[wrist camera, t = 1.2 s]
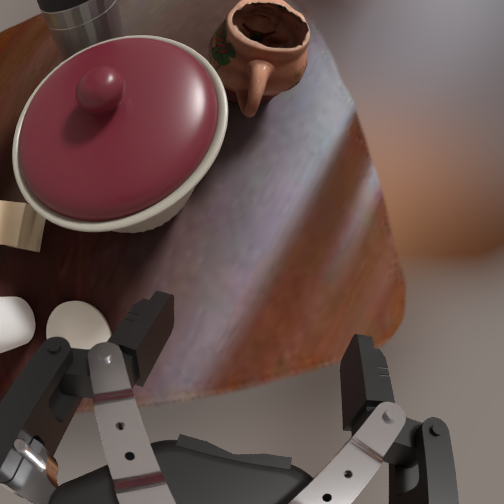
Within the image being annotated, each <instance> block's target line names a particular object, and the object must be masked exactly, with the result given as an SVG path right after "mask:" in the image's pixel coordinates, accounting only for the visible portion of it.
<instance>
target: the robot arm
mask: <svg viewBox="0 0 504 504" xmlns="http://www.w3.org/2000/svg"><path fill="white" fill-rule="evenodd" d="M37 2H38V4H39V7H40V9H41V12H42V14H43V17H44V19H45V21H46V24H47V26H48V28H49V31H50V33H51V35H52V38H53V40H54V42H55V44H56V47H57V49H58V51H59V53H60V55H61V58H62V60H63V62H64V61H65V60H67V59H68V58H69V57H71V56H73V55H74V54H76V53H78V52H79V51H81V50H83V49H85V48H87V47H90V46H92V45H94V44H97V43H100V42H103V41H106V40H110V39H114V38H119V37H124V32H123V26H122V20H121V14H120V8H119V2H118V0H37ZM173 325H174V296H173V295H172V294H168V293H164V292H161V291H156V292H155V293H154V294H153V296H152V297H151V299H150V300H147V299H142V300H141V301H139V302H137V303H136V304H134V305H133V307H132V308H131V309H130V311H129V313H127V315H126V316H125V317H124V320H122V322H121V323H120V324H119V326H118V327H117V328H116V330H115V331H114V332H113V334H112V335H111V337H110V338H109V339H108V341H107V342H102V343H98V344H96V345H94V346H93V347H92V348H91V349H79V348H71V346H70V343H69V342H68V341H67V340H66V339H65V338H63V337H51V338H49V339H47V340H45V341H44V342H43V343H42V345H41V346H40V347H39V349H38V350H37V351H36V352H35V354H34V355H33V357H32V358H31V359H30V361H29V362H28V363H27V365H26V366H25V367H24V369H23V370H22V372H21V373H20V374H19V376H18V377H17V379H16V380H15V382H14V383H13V385H12V386H11V388H10V389H9V390H8V392H7V393H6V395H5V396H4V398H3V400H2V401H1V403H0V485H1V486H3V487H4V488H6V489H7V490H9V491H11V492H13V493H15V494H17V495H18V496H20V497H22V498H25V499H27V500H28V501H30V502H31V503H33V504H351V503H352V502H353V501H354V499H355V498H356V497H357V496H358V494H359V493H360V492H361V490H362V489H363V488H364V487H365V486H366V484H367V483H368V482H369V481H370V479H371V478H372V477H373V475H374V474H375V473H376V471H377V470H378V468H379V467H380V466H381V464H382V462H383V461H384V462H387V463H389V504H459V503H458V491H457V481H456V473H455V466H454V458H453V452H452V446H451V440H450V435H449V430H448V427H447V425H446V424H445V423H444V422H443V421H442V420H441V419H439V418H435V417H431V418H428V419H426V420H425V421H424V422H423V423H421V422H418V421H415V420H412V419H409V418H407V417H406V416H405V413H404V411H403V410H402V408H401V407H399V406H398V405H397V404H395V401H394V396H393V391H392V386H391V381H390V377H389V371H388V369H387V368H388V367H387V362H386V358H385V356H384V355H383V354H382V352H381V351H380V349H374V344H373V339H372V337H371V336H365V335H359V334H355V335H354V336H353V338H352V340H351V342H350V344H349V346H348V348H347V350H346V352H345V354H344V356H343V358H342V361H341V365H340V378H341V395H342V417H343V430H345V431H351V432H352V437H351V438H350V439H349V440H348V441H347V442H346V444H345V445H344V446H343V447H342V448H341V449H340V450H339V451H338V453H337V454H336V455H335V456H334V457H333V458H332V459H331V460H330V461H329V462H328V463H327V464H326V465H325V467H323V468H322V469H321V470H320V471H319V472H318V473H317V474H316V476H314V477H313V478H312V477H311V476H310V475H309V474H308V473H306V472H305V471H303V470H302V469H300V468H298V467H296V466H294V465H291V460H292V458H290V457H283V456H276V455H269V454H246V455H245V454H242V455H241V454H240V455H237V454H232V453H229V452H227V451H225V450H223V449H221V448H219V447H217V446H215V445H213V444H211V443H208V442H207V441H203V440H199V439H195V438H192V437H188V436H185V435H181V434H180V435H179V438H178V440H164V441H158V442H154V443H151V444H150V442H149V439H148V437H147V434H146V431H145V428H144V425H143V423H142V419H141V417H140V413H139V410H138V407H137V404H136V401H135V398H134V394H133V391H132V389H133V387H134V385H135V384H136V385H138V386H141V387H143V386H144V384H145V382H146V380H147V378H148V376H149V374H150V372H151V370H152V368H153V366H154V364H155V363H156V361H157V359H158V357H159V355H160V353H161V351H162V349H163V347H164V346H165V344H166V342H167V340H168V338H169V336H170V334H171V332H172V329H173ZM83 397H86V398H93V405H94V410H95V415H96V420H97V424H98V428H99V433H100V436H101V441H102V445H103V448H104V452H105V456H106V459H107V463H108V465H106V466H104V467H101V468H99V469H97V470H94V471H92V472H90V473H87V474H85V475H83V476H81V477H78V478H76V479H73V480H71V481H68V482H66V483H63V484H62V485H60V486H58V484H57V474H58V463H57V461H56V459H55V458H54V454H55V452H56V449H57V447H58V445H59V443H60V441H61V439H62V437H63V435H64V433H65V431H66V429H67V427H68V425H69V423H70V421H71V420H72V418H73V416H74V414H75V412H76V410H77V408H78V406H79V404H80V402H81V401H82V399H83Z"/></svg>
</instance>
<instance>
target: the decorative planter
mask: <svg viewBox="0 0 504 504" xmlns="http://www.w3.org/2000/svg"><path fill="white" fill-rule="evenodd" d="M309 40H310V31H309V27H308V25H307V23H306V21H305V18H304V16H303V15H302V14H301V13H299V12H297V11H295V10H294V9H293V8H291V7H290V6H289V5H288V4H287V3H286V2H284V1H282V0H242V1H240V2H239V3H238V4H237V5H236V6H235V7H234V8H233V9H232V10H231V11H230V12H229V14H228V15H227V17H226V19H225V20H224V22H223V23H222V24H221V25H220V26H219V27H218V28H217V30H216V31H215V32H214V34H213V36H212V38H211V41H210V44H209V50H208V56H209V63H210V64H211V65H212V67H213V68H214V69H215V71H216V72H217V74H218V75H219V77H220V79H221V81H222V83H223V86H224V89H225V92H226V96H227V99H228V100H231V101H234V102H237V103H239V106H240V109H241V111H242V113H243V114H244V115H245V116H247V117H253V116H254V115H255V113H256V112H257V109H258V107H259V104H261V103H265V102H268V101H270V100H271V99H272V98H273V97H274V96H276V95H278V94H279V93H281V92H283V91H287V90H289V89H291V88H293V87H294V86H295V85H297V84H298V83H299V82H300V80H301V78H302V76H303V74H304V71H305V69H306V66H307V60H308V51H307V46H308V44H309Z"/></svg>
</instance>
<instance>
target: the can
mask: <svg viewBox="0 0 504 504" xmlns="http://www.w3.org/2000/svg"><path fill="white" fill-rule="evenodd" d="M34 332H35V317H34V314H33V311H32V309H31V307H30V306H29V304H28V303H27V302H26V301H25V300H23V299H22V298H20V297H0V353H2V352H5V351H8V350H11V349H14V348H16V347H19V346H22V345H24V344H27V343H28V342H30V340H31V339H32V337H33V335H34Z"/></svg>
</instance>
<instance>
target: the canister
mask: <svg viewBox="0 0 504 504" xmlns="http://www.w3.org/2000/svg"><path fill="white" fill-rule="evenodd" d="M227 122H228V102H227V96H226V92H225V89H224V86H223V83H222V81H221V79H220V77H219V75H218V74H217V72H216V71H215V69H214V68H213V67H212V65H211V64H210V63H209V62H208V61H207V60H206V59H205V58H204V57H203V56H201V55H200V54H199V53H197V52H196V51H195V50H193V49H191V48H190V47H188V46H186V45H184V44H182V43H179V42H176V41H174V40H170V39H167V38H162V37H156V36H145V35H137V36H125V37H119V38H114V39H110V40H106V41H103V42H100V43H97V44H94V45H92V46H90V47H87V48H85V49H83V50H81V51H79V52H78V53H76V54H74V55H73V56H71V57H69V58H68V59H67V60H65V61H64V62H62V63H61V64H60V65H59V66H57V67H56V68H55V69H54V70H53V71H52V72H51V73H50V74H48V75H47V77H46V78H45V79H44V80H43V81H42V82H41V83H40V84H39V86H38V87H37V88H36V89H35V91H34V92H33V94H32V95H31V97H30V98H29V100H28V102H27V103H26V105H25V107H24V109H23V111H22V113H21V116H20V118H19V121H18V124H17V127H16V131H15V135H14V141H13V150H12V160H13V169H14V174H15V178H16V181H17V184H18V186H19V189H20V191H21V193H22V194H23V196H24V198H25V199H26V201H27V202H28V203H29V204H30V206H31V207H32V208H33V209H34V210H35V211H36V212H37V213H39V214H40V215H41V216H42V217H44V218H45V219H47V220H49V221H50V222H52V223H54V224H56V225H59V226H61V227H64V228H67V229H71V230H76V231H83V232H106V231H115V232H122V233H126V232H128V233H136V232H145V231H147V230H153V229H154V228H156V227H158V226H162V225H163V224H164V223H165V222H167V221H170V220H171V218H172V217H174V216H175V215H177V214H178V212H179V210H180V209H181V208H183V207H184V205H185V203H186V201H187V200H188V199H189V198H190V196H191V194H192V192H193V190H194V188H195V186H196V185H197V184H198V183H199V181H200V180H201V179H202V178H203V177H204V175H205V174H206V173H207V171H208V170H209V168H210V167H211V165H212V164H213V162H214V160H215V159H216V157H217V155H218V153H219V150H220V148H221V146H222V143H223V140H224V137H225V133H226V128H227Z"/></svg>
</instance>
